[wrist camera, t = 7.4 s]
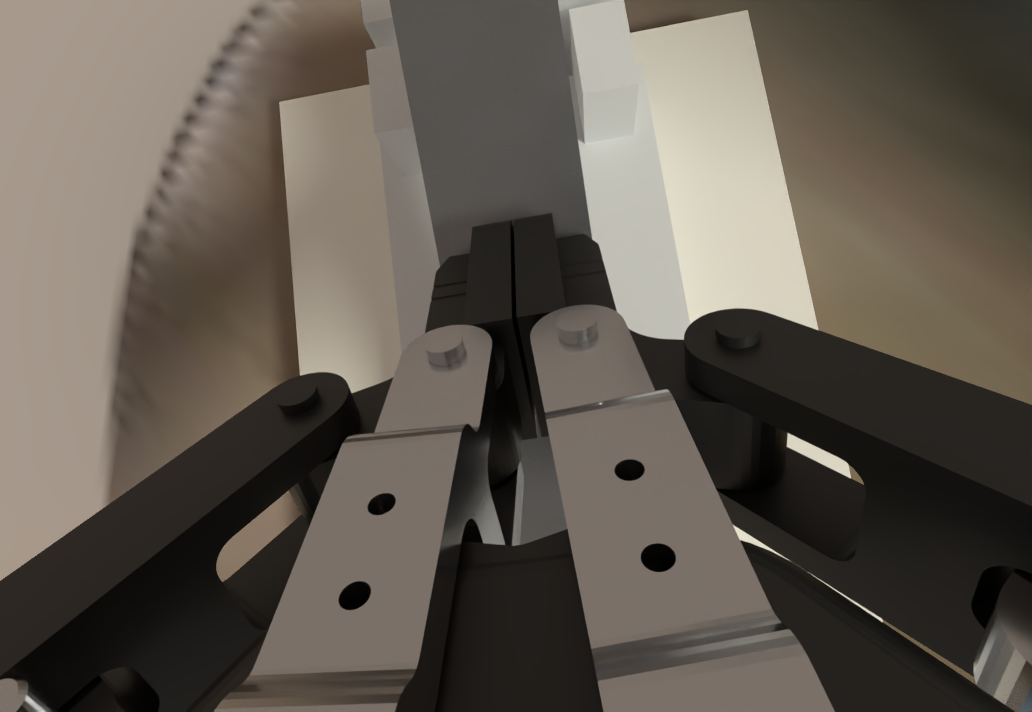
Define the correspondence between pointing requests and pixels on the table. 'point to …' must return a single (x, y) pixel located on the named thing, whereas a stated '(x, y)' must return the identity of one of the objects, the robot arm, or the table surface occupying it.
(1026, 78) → the table surface
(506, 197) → the bar
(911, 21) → the table surface
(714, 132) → the stand
